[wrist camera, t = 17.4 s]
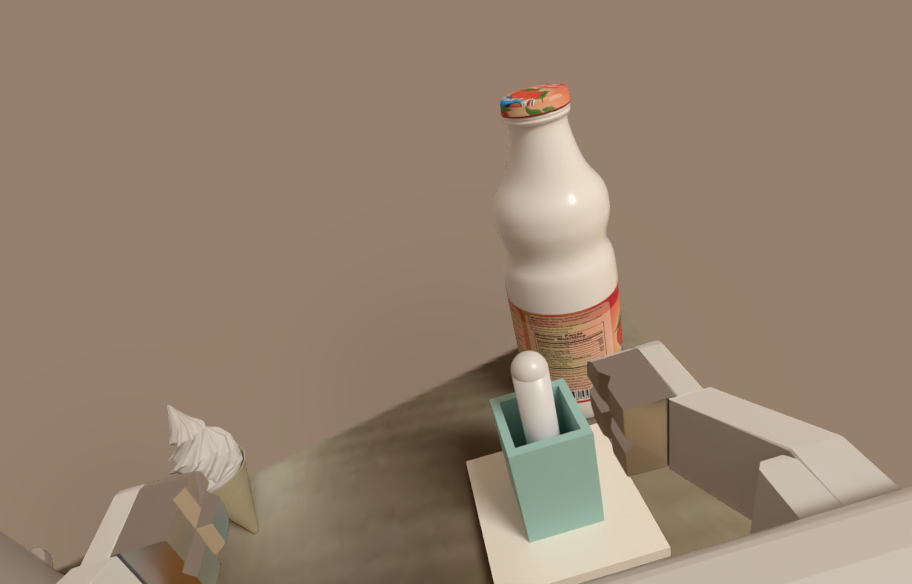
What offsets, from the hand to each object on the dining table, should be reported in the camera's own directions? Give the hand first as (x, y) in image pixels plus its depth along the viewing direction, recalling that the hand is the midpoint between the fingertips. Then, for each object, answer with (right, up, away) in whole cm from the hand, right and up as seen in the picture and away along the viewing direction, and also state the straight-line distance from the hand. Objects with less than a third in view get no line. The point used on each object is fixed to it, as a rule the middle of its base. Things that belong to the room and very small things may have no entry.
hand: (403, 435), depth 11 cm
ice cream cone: (-16, -18, +34) cm, 42 cm away
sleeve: (+9, -13, +29) cm, 33 cm away
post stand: (+9, -14, +30) cm, 34 cm away
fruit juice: (+13, -7, +40) cm, 43 cm away
